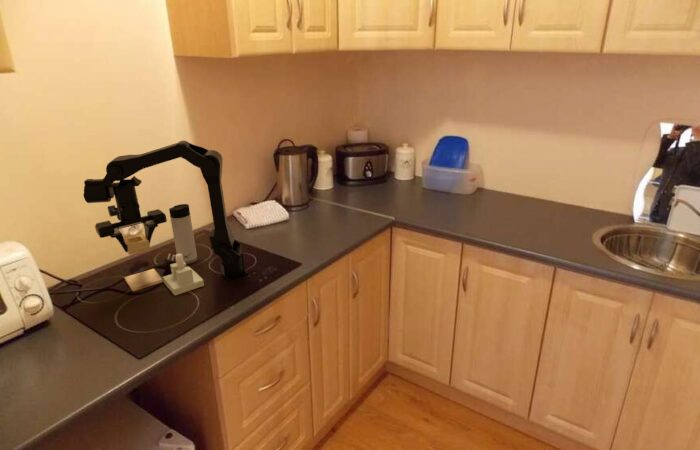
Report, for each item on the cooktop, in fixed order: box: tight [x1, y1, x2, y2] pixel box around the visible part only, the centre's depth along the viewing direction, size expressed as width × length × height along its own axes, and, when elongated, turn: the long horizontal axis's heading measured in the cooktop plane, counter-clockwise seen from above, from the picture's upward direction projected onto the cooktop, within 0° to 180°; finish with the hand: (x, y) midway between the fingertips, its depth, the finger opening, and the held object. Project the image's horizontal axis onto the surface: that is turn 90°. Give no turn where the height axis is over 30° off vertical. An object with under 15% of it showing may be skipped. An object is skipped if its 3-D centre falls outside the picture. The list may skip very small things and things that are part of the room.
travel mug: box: [168, 203, 198, 265], centre depth 154 cm, size 6×7×20 cm
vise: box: [162, 253, 205, 296], centre depth 141 cm, size 9×10×10 cm
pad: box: [123, 268, 164, 292], centre depth 145 cm, size 9×9×1 cm
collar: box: [124, 233, 151, 256], centre depth 140 cm, size 6×6×3 cm
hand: (137, 248), depth 141 cm, fingers closed on collar, 6 cm apart
